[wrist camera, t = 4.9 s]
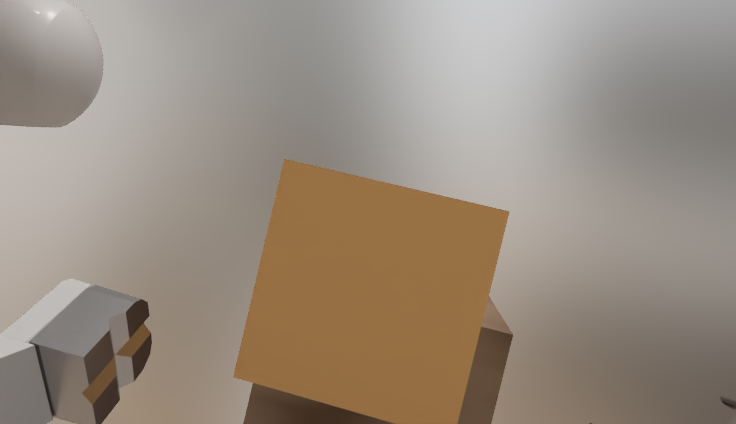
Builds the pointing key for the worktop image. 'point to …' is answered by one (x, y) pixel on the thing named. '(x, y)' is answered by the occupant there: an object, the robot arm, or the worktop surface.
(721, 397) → the worktop surface
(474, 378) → the walnut stand
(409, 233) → the orange block
